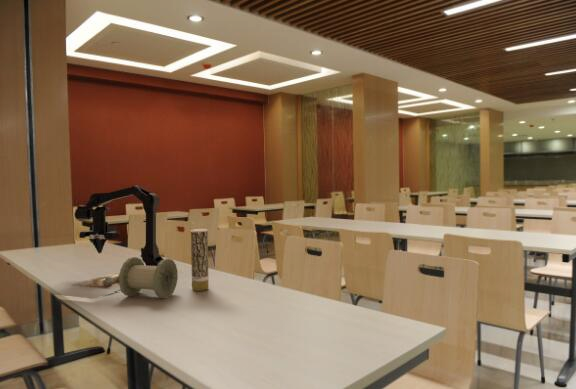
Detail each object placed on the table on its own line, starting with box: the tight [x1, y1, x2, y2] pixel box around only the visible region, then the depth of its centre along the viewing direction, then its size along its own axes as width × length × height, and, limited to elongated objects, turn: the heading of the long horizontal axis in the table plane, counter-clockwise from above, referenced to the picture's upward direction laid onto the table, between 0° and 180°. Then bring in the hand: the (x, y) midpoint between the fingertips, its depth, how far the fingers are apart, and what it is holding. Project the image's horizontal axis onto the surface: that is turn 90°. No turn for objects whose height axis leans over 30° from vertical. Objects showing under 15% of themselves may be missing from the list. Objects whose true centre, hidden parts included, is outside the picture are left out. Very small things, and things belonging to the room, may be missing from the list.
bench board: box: [71, 272, 120, 289], centre depth 187 cm, size 20×15×5 cm
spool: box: [118, 256, 179, 300], centre depth 169 cm, size 16×15×15 cm
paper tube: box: [190, 228, 210, 292], centre depth 179 cm, size 7×7×25 cm
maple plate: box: [91, 273, 119, 287], centre depth 186 cm, size 6×11×2 cm, turn 160°
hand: (99, 253), depth 200 cm, fingers closed
